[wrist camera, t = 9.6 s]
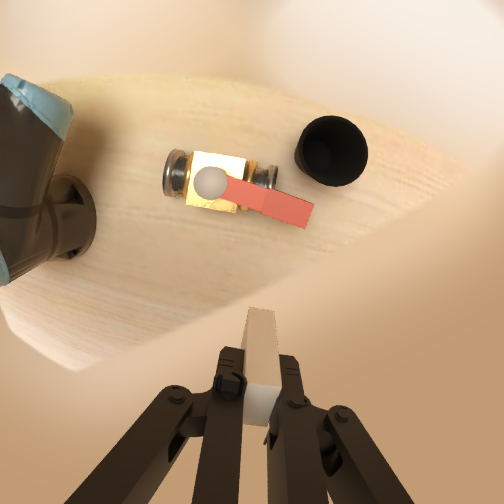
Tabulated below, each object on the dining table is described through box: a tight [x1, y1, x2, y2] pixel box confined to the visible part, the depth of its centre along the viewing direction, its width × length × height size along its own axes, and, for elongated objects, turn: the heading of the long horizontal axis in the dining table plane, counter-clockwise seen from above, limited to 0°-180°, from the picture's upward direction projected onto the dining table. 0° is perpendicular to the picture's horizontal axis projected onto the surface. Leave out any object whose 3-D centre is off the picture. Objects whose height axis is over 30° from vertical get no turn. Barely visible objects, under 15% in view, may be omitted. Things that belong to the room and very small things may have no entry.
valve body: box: [163, 149, 278, 213], centre depth 35 cm, size 14×7×10 cm, turn 79°
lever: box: [193, 166, 314, 229], centre depth 30 cm, size 13×4×2 cm, turn 71°
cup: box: [295, 115, 368, 187], centre depth 33 cm, size 8×8×12 cm
